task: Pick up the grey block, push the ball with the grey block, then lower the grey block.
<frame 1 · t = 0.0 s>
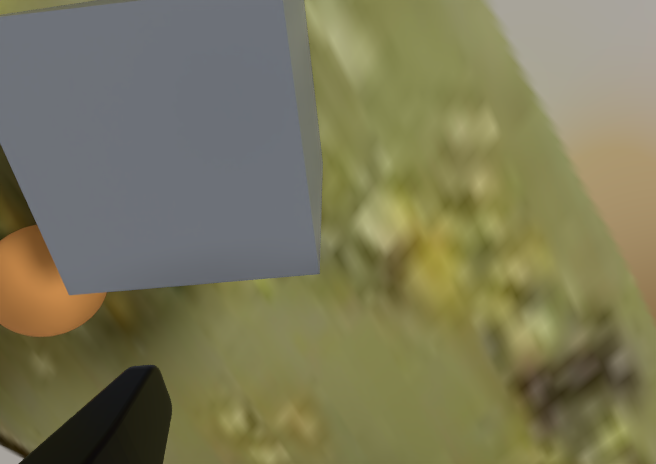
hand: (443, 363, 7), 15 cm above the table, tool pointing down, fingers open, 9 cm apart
grey block: (223, 87, 20), on the table
ball: (48, 279, 21), on the table
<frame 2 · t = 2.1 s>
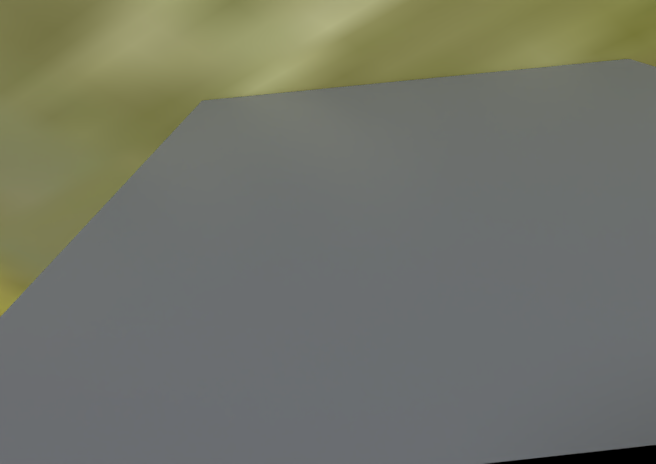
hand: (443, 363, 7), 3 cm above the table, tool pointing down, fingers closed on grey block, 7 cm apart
grey block: (413, 259, 10), on the table, touching gripper
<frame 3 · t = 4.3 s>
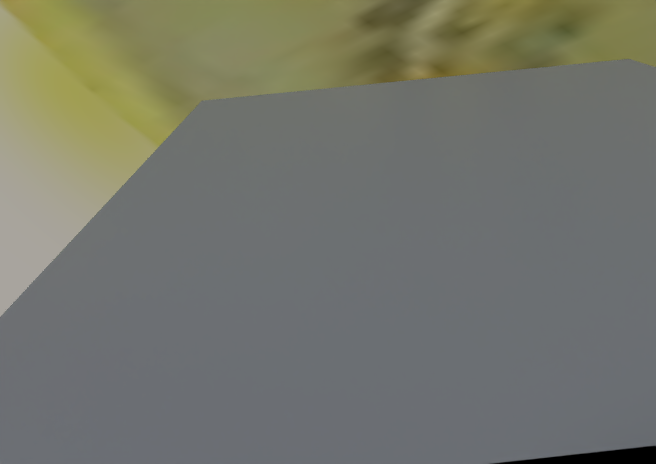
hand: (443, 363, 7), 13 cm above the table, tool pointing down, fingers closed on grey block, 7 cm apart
grey block: (413, 259, 10), point 10 cm above the table, touching gripper
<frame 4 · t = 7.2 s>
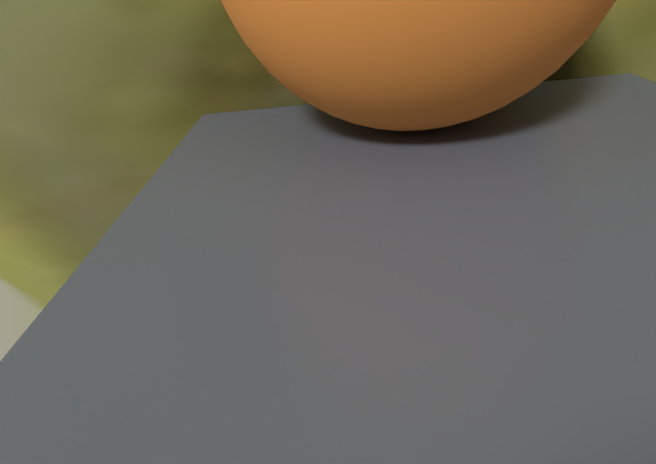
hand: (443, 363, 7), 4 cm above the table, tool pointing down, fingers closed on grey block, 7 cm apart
grey block: (414, 270, 10), point 1 cm above the table, touching gripper
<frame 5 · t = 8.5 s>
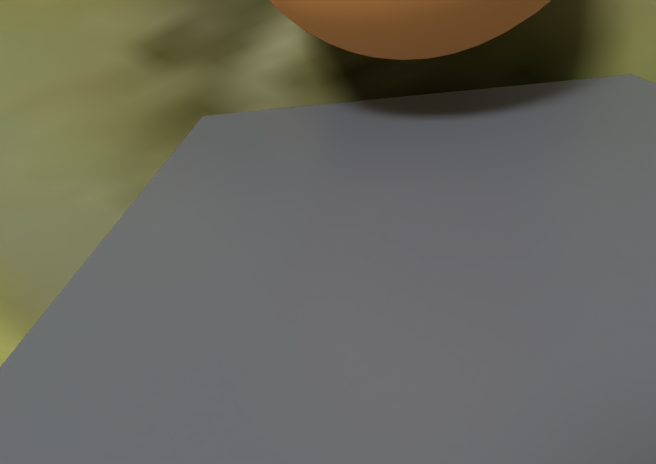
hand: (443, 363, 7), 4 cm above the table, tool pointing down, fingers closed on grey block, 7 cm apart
grey block: (414, 271, 10), point 1 cm above the table, touching gripper
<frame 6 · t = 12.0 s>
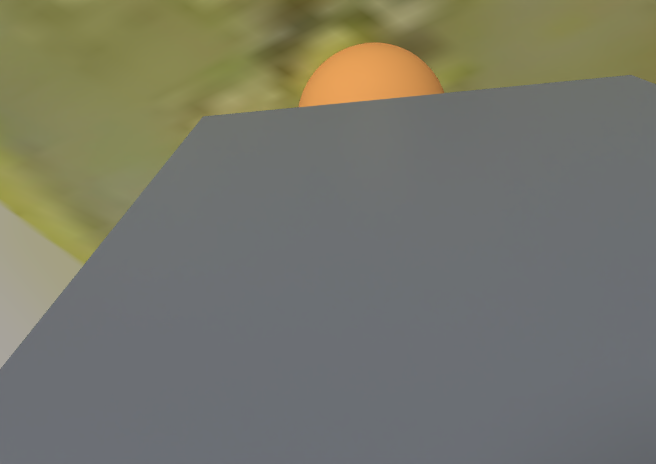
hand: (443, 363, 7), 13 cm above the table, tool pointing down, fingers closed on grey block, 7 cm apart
grey block: (414, 272, 10), point 10 cm above the table, touching gripper
ball: (371, 122, 16), on the table
when the fingers open (3 cm above the table, at t = 16.5 s): grey block stays where it is, on the table.
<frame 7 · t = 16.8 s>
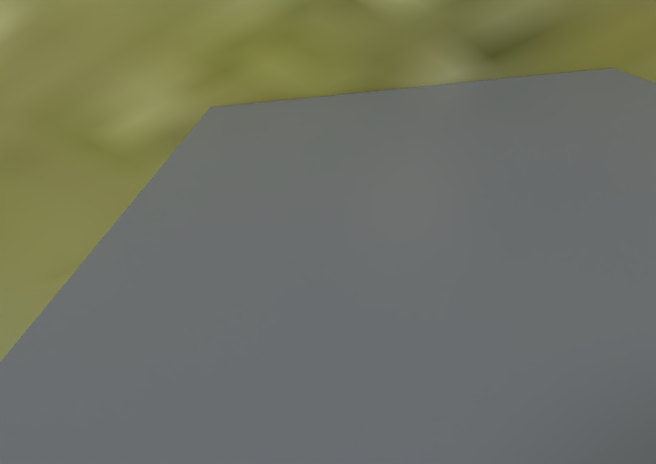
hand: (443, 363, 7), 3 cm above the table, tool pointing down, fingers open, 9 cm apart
grey block: (410, 257, 11), on the table
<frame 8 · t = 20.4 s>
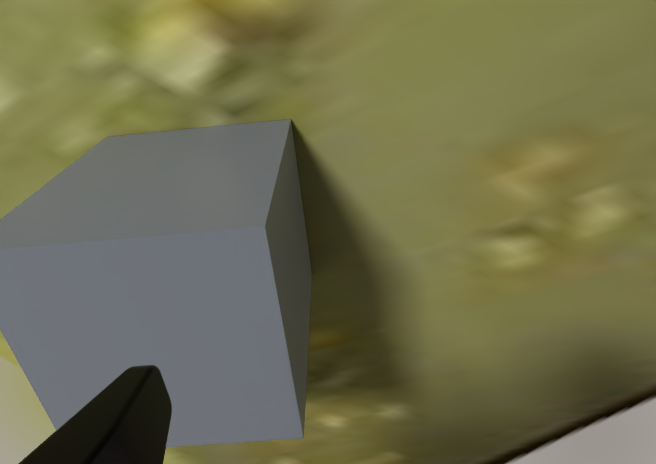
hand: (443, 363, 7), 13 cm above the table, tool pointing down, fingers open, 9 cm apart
grey block: (217, 211, 21), on the table
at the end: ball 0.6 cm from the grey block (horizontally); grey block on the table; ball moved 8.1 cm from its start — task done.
